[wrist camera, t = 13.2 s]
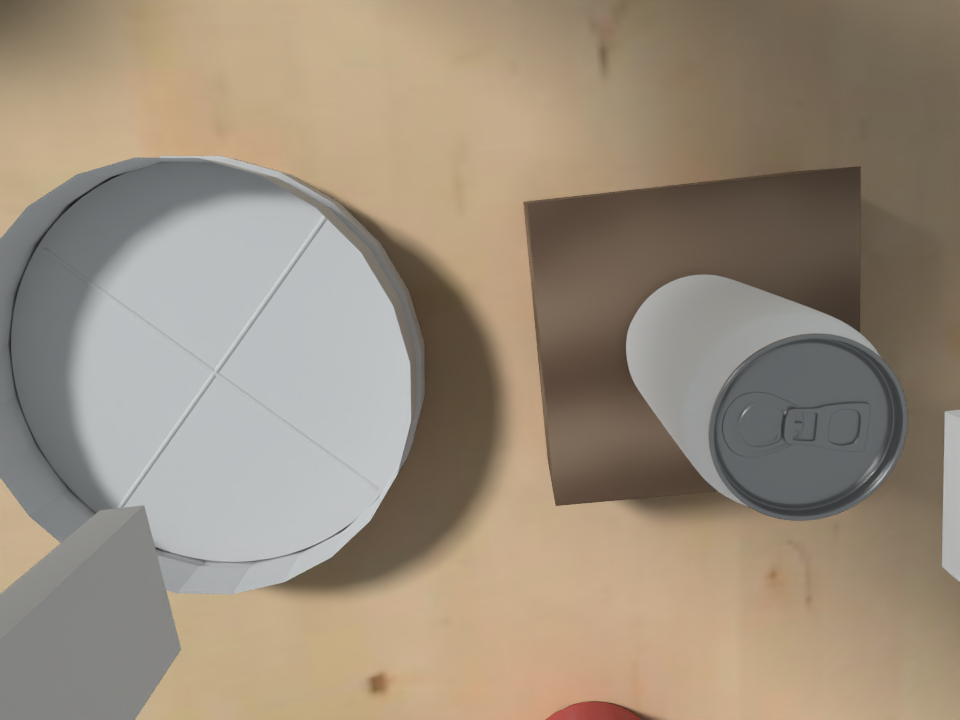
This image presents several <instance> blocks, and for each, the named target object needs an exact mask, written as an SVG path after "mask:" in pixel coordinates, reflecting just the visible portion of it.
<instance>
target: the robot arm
mask: <svg viewBox="0 0 960 720" xmlns="http://www.w3.org/2000/svg"><path fill="white" fill-rule="evenodd" d="M942 567H943V568H944V569H945V570H946V571H947V572H949V573H950V574H951V575H952V576H953V577H954V578H956V579H957V580H958V581H959V582H960V410H953V411H945V432H944V484H943V536H942ZM180 650H181V647H180V643H179V639H178V635H177V631H176V627H175V623H174V619H173V616H172V612H171V608H170V604H169V600H168V596H167V592H166V588H165V584H164V580H163V577H162V573H161V569H160V565H159V561H158V557H157V553H156V549H155V545H154V541H153V537H152V534H151V530H150V526H149V522H148V518H147V514H146V510H145V506H144V505H142V506H134V507H125V508H116V509H108V510H100V511H99V512H97V513H96V514H95V515H94V516H93V517H91V518H90V519H89V520H88V521H87V522H85V523H84V524H83V525H82V526H81V527H80V528H78V529H77V530H76V531H75V532H74V533H72V534H71V535H70V536H69V537H68V538H66V539H65V540H64V541H63V542H62V543H61V544H59V545H58V546H57V547H56V548H55V549H53V550H52V551H51V552H50V553H49V554H48V555H46V556H45V557H44V558H43V559H42V560H40V561H39V562H38V563H37V564H36V565H34V566H33V567H32V568H31V569H30V570H29V571H27V572H26V573H25V574H24V575H23V576H21V577H20V578H19V579H18V580H17V581H15V582H14V583H13V584H12V585H11V586H10V587H8V588H7V589H6V590H5V591H4V592H2V593H1V594H0V720H135V718H136V717H137V715H138V714H139V712H140V711H141V709H142V708H143V706H144V705H145V703H146V702H147V700H148V699H149V697H150V696H151V694H152V693H153V691H154V690H155V688H156V687H157V685H158V684H159V682H160V681H161V679H162V678H163V676H164V675H165V673H166V672H167V670H168V668H169V667H170V665H171V664H172V662H173V661H174V659H175V658H176V656H177V655H178V653H179V652H180Z"/></svg>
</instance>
